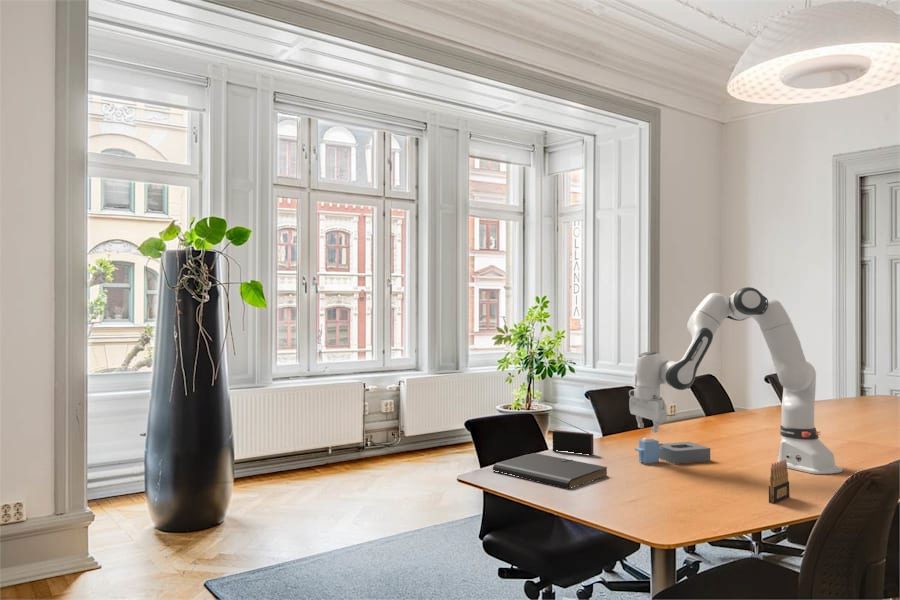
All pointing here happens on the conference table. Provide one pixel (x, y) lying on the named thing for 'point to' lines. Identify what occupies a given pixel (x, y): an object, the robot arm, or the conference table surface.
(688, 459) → the grey socket block
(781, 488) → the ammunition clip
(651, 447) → the servo
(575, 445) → the radio
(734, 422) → the conference table surface
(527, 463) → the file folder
